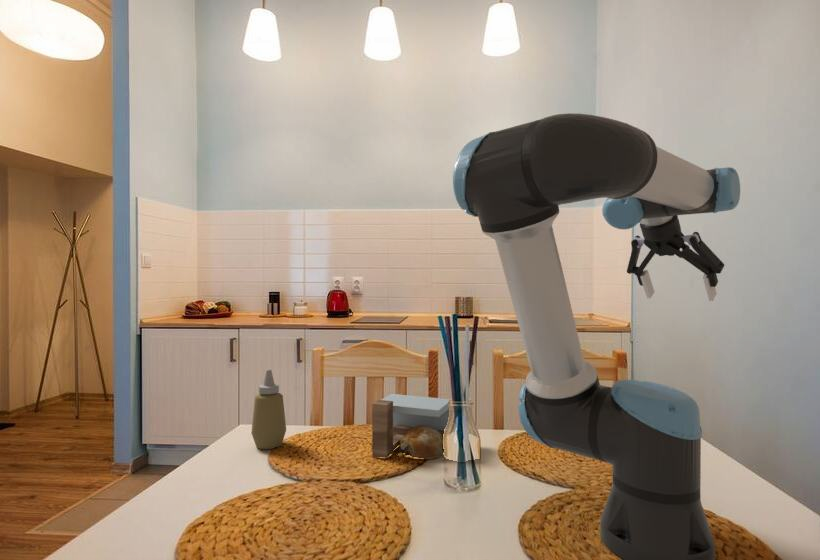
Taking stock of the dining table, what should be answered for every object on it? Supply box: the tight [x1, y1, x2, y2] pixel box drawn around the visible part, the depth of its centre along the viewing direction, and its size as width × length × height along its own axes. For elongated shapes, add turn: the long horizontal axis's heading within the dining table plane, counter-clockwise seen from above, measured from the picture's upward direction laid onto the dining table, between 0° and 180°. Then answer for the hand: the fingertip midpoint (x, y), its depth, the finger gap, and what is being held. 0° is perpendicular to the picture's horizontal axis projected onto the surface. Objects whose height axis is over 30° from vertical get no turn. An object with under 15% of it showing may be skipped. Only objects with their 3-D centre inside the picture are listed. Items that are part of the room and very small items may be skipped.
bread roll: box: [398, 425, 444, 461], centre depth 110 cm, size 10×10×8 cm
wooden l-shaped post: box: [371, 399, 444, 458], centre depth 111 cm, size 14×15×12 cm
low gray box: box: [380, 393, 450, 431], centre depth 115 cm, size 10×16×10 cm, turn 68°
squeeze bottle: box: [251, 369, 287, 450], centre depth 115 cm, size 8×8×18 cm
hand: (680, 296), depth 113 cm, fingers open, 13 cm apart
